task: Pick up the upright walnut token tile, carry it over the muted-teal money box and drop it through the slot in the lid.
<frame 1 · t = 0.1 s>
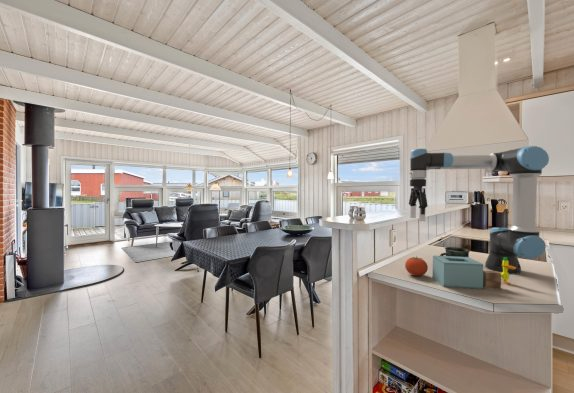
hand: (417, 219, 134), 28 cm above the table, fingers open, 13 cm apart
coin box: (456, 283, 119), on the table
token: (491, 287, 114), on the table
toy figure: (506, 284, 119), on the table
tomato: (416, 275, 129), on the table
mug: (453, 271, 136), on the table
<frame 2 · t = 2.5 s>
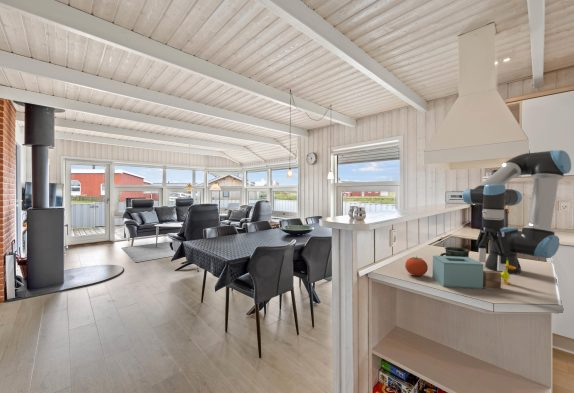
hand: (491, 266, 114), 9 cm above the table, fingers open, 13 cm apart
nothing on the table moved.
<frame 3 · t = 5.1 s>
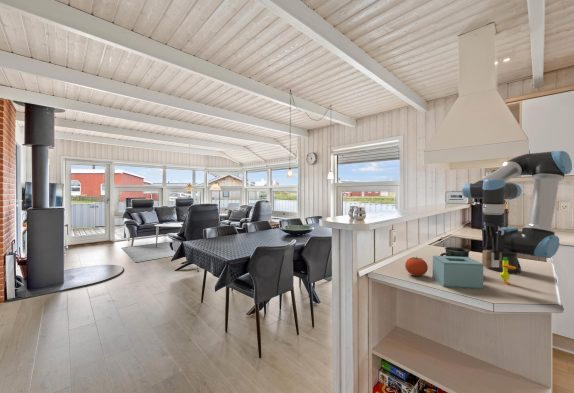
hand: (492, 265, 114), 10 cm above the table, fingers closed on token, 3 cm apart
token: (491, 266, 114), point 9 cm above the table, touching gripper
everything else where it was.
when the fingers open (13 cm above the table, at t = 6.7 s): token drops 11 cm, resting on coin box.
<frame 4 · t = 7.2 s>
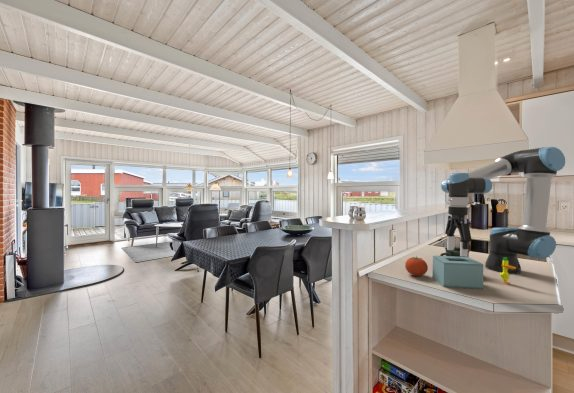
hand: (456, 252, 119), 14 cm above the table, fingers open, 11 cm apart
token: (455, 281, 119), point 1 cm above the table, touching coin box
everything else where it was.
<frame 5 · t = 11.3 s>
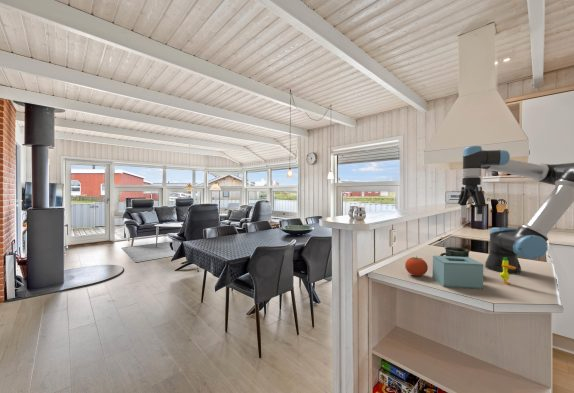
hand: (470, 219, 129), 29 cm above the table, fingers open, 13 cm apart
nothing on the table moved.
at the end: token inside the target area on the coin box (0.3 cm from its centre), point 0.6 cm above the coin box's base; the gripper is holding nothing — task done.
